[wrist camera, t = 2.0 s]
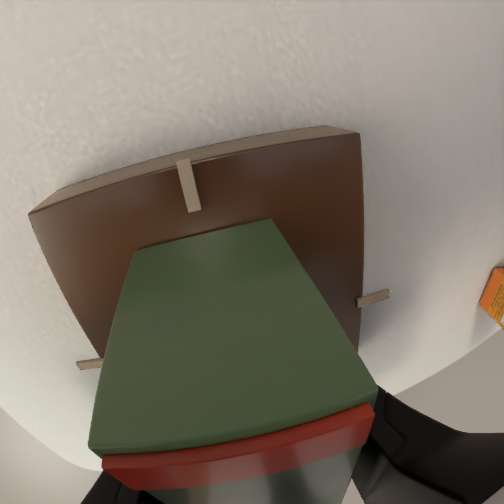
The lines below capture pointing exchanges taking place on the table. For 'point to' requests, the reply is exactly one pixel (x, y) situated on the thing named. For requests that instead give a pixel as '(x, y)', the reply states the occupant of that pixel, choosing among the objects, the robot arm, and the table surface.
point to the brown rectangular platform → (213, 218)
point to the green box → (229, 377)
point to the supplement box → (494, 296)
